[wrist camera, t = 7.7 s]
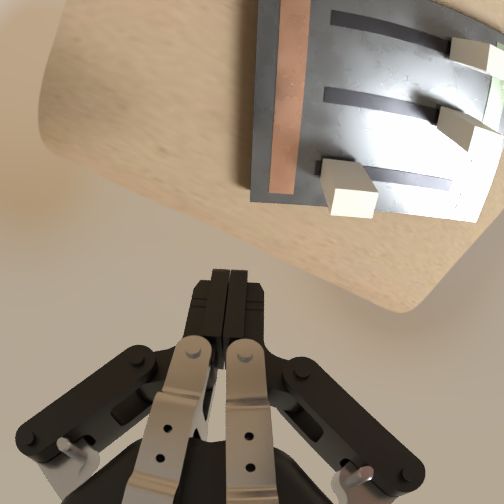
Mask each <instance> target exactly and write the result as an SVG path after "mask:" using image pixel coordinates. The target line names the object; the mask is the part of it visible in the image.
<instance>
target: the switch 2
mask: <svg viewBox="0 0 504 504" xmlns="http://www.w3.org/2000/svg"><path fill="white" fill-rule="evenodd" d="M449 60H451V61H454V62H456V63H459V64H461V65H464V66H467V67H469V68H471V69H474V70H476V71H479V72H482V73H485V74H488V75H490V76H493V77H496V78H498V79H501V80H504V51H503V50H501V49H499V48H497V47H495V46H493V45H491V44H488V43H483V42H478V41H473V40H467V39H461V38H455V37H452V42H451V50H450V58H449Z"/></svg>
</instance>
